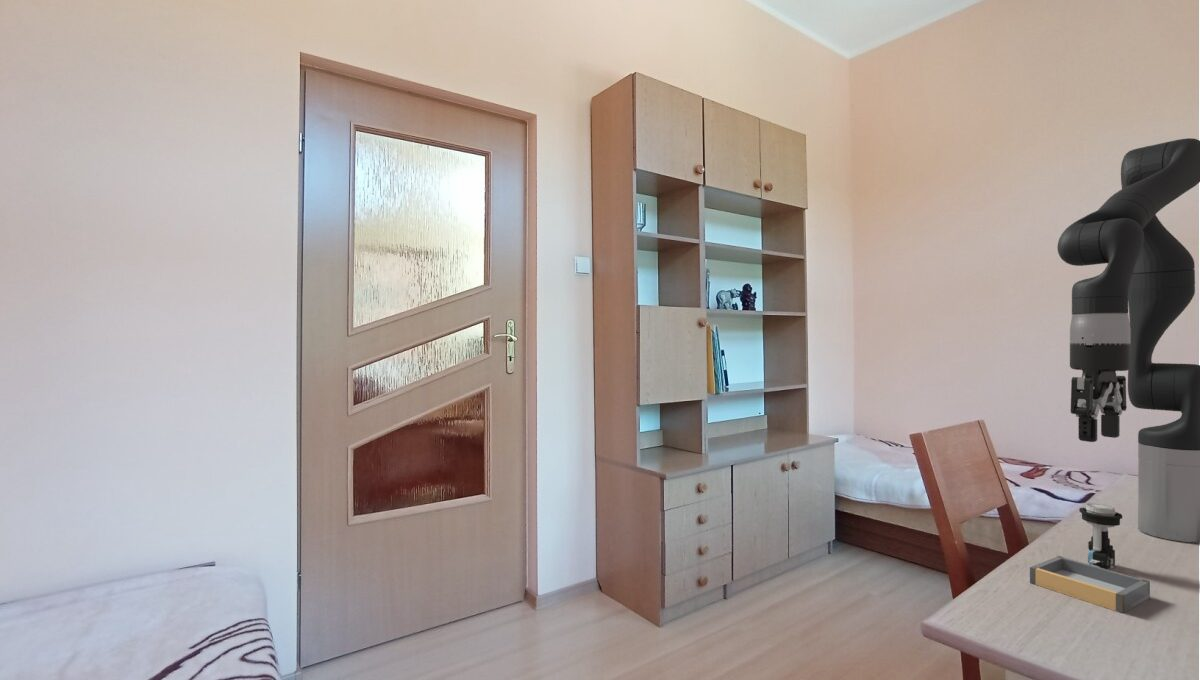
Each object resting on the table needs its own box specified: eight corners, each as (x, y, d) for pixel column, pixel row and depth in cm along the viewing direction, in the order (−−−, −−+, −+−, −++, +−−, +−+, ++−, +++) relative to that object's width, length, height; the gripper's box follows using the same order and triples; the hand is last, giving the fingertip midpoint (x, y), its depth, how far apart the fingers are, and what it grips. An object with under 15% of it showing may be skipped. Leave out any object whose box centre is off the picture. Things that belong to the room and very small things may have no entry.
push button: (1113, 577, 88) (1113, 514, 88) (1071, 565, 93) (1071, 505, 93) (1127, 568, 92) (1127, 507, 92) (1086, 557, 96) (1086, 499, 96)
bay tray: (1058, 570, 91) (1058, 555, 91) (1149, 597, 81) (1149, 581, 81) (1029, 582, 86) (1029, 567, 86) (1122, 613, 76) (1122, 595, 76)
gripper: (1089, 341, 99) (1089, 432, 99) (1051, 341, 92) (1051, 439, 92) (1146, 341, 93) (1146, 439, 93) (1110, 341, 86) (1110, 446, 86)
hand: (1099, 439), depth 92 cm, fingers open, 8 cm apart
